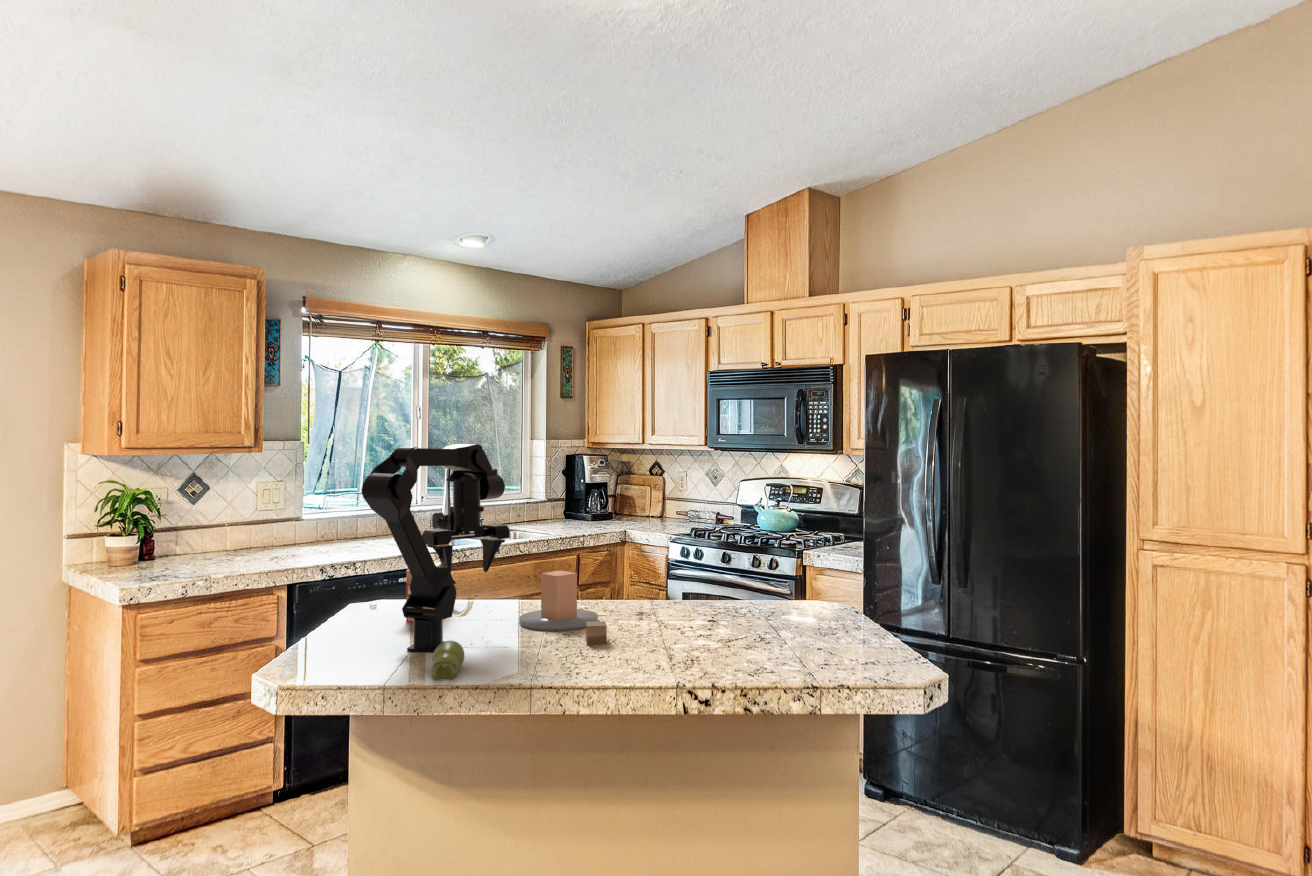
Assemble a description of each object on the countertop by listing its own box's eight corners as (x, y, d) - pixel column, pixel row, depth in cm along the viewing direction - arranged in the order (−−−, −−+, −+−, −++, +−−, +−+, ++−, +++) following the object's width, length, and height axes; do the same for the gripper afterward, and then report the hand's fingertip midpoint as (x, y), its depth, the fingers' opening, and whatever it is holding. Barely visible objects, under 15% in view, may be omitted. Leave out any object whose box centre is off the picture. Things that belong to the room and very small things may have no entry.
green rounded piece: (466, 636, 157) (459, 659, 147) (466, 663, 158) (459, 687, 148) (436, 636, 156) (426, 659, 146) (436, 663, 157) (427, 688, 147)
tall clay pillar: (576, 616, 193) (576, 573, 193) (557, 620, 189) (556, 576, 189) (560, 612, 198) (560, 570, 198) (541, 616, 193) (541, 573, 193)
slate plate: (590, 631, 183) (590, 626, 183) (509, 630, 185) (509, 624, 185) (604, 614, 201) (604, 609, 201) (530, 612, 203) (530, 607, 203)
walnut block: (606, 645, 172) (606, 625, 172) (587, 645, 172) (587, 626, 172) (605, 640, 176) (605, 621, 176) (586, 641, 176) (585, 621, 176)
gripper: (483, 497, 193) (484, 565, 194) (408, 502, 181) (409, 575, 181) (511, 500, 185) (511, 571, 186) (434, 505, 173) (435, 581, 173)
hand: (467, 574), depth 181 cm, fingers open, 9 cm apart
